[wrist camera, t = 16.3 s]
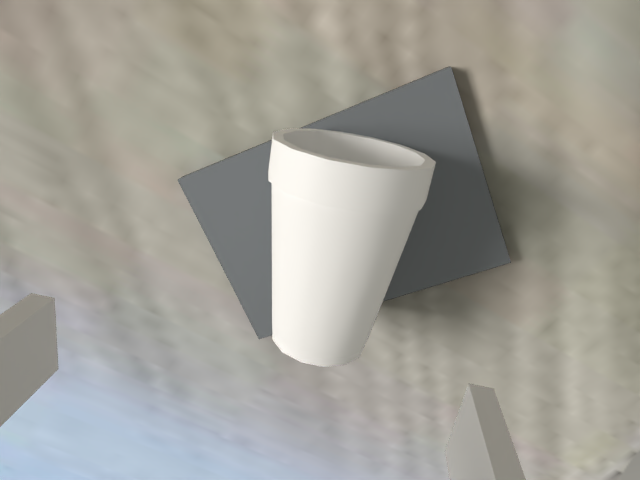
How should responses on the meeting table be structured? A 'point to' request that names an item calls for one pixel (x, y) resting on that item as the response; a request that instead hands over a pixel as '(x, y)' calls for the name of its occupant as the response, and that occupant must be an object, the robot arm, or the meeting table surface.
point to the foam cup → (337, 236)
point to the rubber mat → (431, 221)
